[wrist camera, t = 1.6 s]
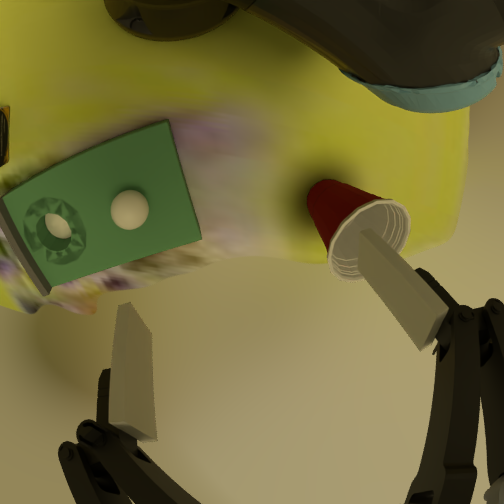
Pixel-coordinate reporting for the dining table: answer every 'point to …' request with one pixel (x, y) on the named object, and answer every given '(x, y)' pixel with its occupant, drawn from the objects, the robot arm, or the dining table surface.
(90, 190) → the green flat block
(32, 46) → the dining table surface
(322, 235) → the plastic cup
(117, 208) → the ball
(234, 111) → the dining table surface
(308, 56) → the dining table surface
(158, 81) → the dining table surface
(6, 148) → the medicine bottle
